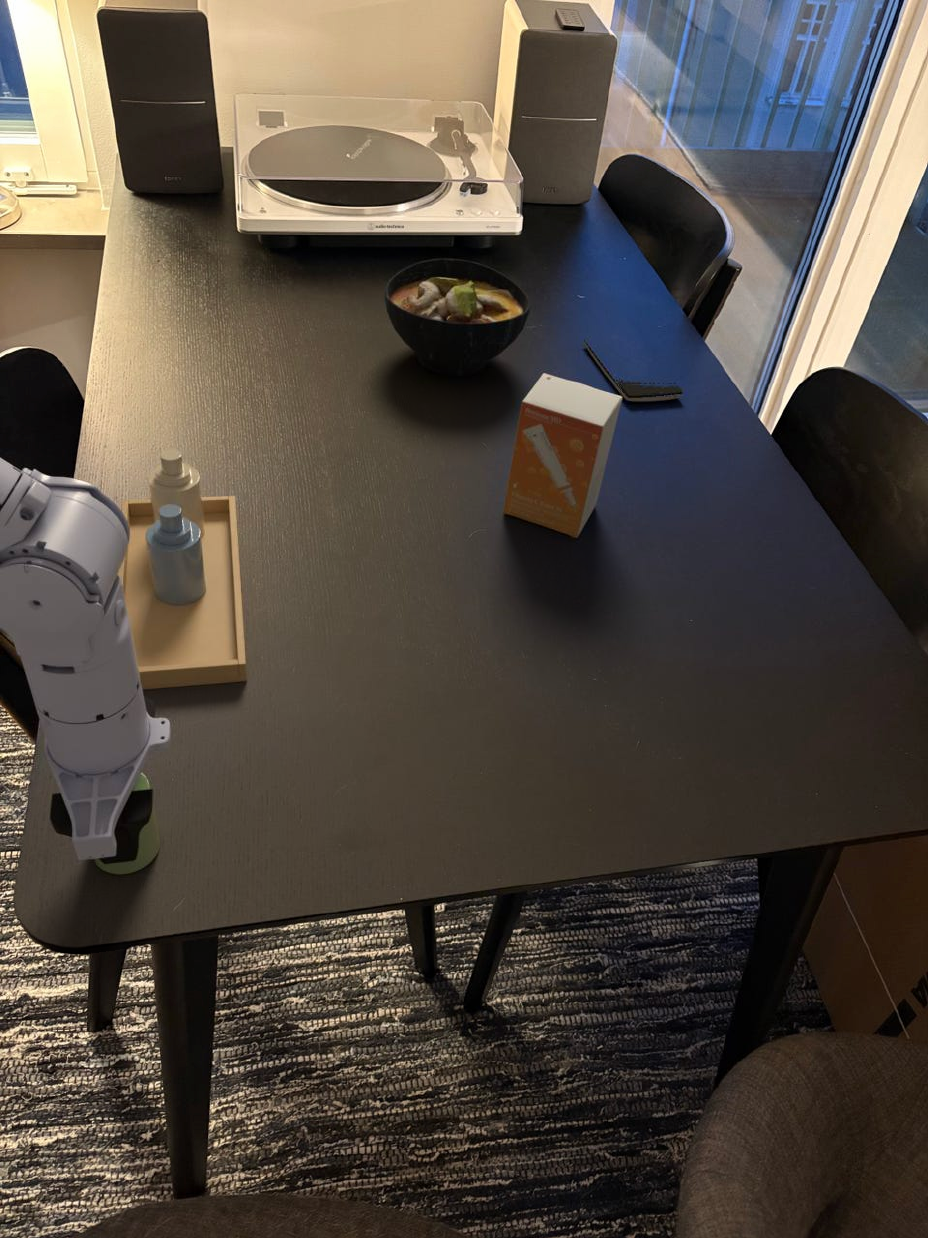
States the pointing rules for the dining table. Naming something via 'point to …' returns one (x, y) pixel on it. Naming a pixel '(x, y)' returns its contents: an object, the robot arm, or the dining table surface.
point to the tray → (187, 605)
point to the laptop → (639, 387)
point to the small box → (560, 453)
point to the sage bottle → (147, 841)
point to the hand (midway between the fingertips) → (121, 826)
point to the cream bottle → (176, 487)
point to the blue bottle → (176, 557)
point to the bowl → (455, 313)
